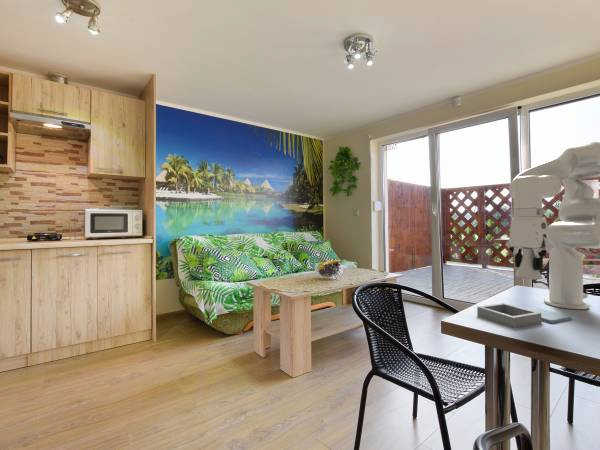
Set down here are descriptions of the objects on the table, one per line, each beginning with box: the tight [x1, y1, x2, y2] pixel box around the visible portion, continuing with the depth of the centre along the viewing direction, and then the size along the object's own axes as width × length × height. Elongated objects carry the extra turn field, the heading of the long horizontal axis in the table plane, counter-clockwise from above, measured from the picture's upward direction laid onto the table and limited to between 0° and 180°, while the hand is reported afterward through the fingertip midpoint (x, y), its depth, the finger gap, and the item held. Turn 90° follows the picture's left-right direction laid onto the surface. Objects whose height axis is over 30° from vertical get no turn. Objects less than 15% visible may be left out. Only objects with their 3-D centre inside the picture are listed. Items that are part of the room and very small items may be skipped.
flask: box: [514, 248, 543, 280], centre depth 99 cm, size 7×7×10 cm
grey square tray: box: [476, 302, 542, 328], centre depth 98 cm, size 12×12×3 cm
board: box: [529, 307, 573, 324], centre depth 99 cm, size 10×10×1 cm
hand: (528, 267), depth 99 cm, fingers closed on flask, 5 cm apart
